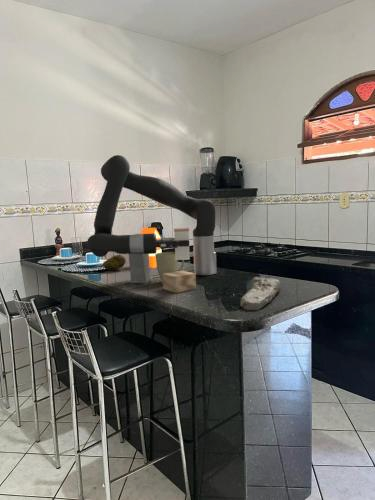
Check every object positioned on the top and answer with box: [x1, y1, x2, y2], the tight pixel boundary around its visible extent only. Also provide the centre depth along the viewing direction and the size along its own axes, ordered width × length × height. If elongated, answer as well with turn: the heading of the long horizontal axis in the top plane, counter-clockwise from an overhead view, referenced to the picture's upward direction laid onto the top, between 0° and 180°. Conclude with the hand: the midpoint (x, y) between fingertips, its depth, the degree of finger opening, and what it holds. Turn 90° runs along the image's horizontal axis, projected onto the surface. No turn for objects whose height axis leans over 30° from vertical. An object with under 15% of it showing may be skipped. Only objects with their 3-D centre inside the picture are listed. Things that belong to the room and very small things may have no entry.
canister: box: [173, 227, 191, 261], centre depth 141 cm, size 5×5×11 cm
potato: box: [102, 254, 126, 271], centre depth 189 cm, size 8×13×8 cm, turn 37°
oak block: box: [162, 270, 197, 294], centre depth 145 cm, size 9×9×6 cm
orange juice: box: [140, 227, 163, 269], centre depth 197 cm, size 8×9×20 cm
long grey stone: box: [240, 276, 281, 311], centre depth 130 cm, size 35×5×10 cm
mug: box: [155, 251, 185, 284], centre depth 157 cm, size 11×10×12 cm
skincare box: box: [128, 254, 152, 284], centre depth 160 cm, size 8×7×16 cm
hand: (188, 242), depth 141 cm, fingers closed on canister, 5 cm apart
